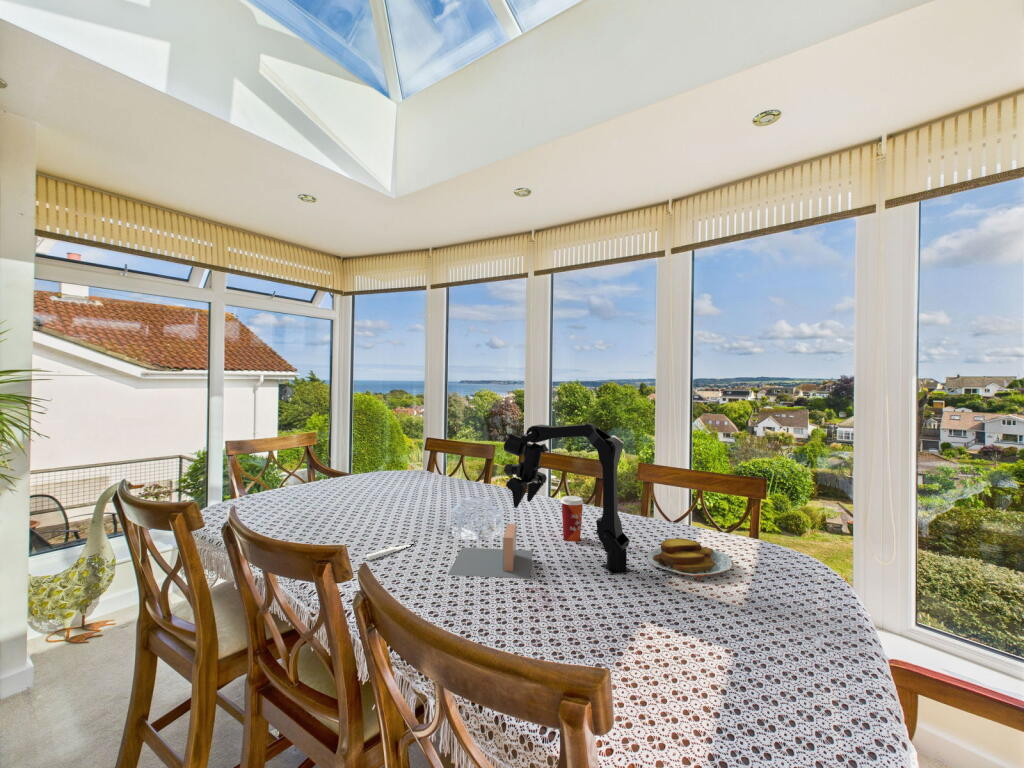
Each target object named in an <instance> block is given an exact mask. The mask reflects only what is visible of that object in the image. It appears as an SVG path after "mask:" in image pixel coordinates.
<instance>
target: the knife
mask: <svg viewBox="0 0 1024 768" xmlns="http://www.w3.org/2000/svg"><path fill="white" fill-rule="evenodd" d="M403 545H404V544H403ZM406 546H407V547H409V546H411V545H404V546H402V545H400V546H397V547H396V546H395V547H394V546H393V547H392V546H390V545H389V546H388V547H387V548H385V549H382V550H379V551H377V552H373V553H367V554H366V559H367V561H370V562H371V561H373V559H374V560H377V559H376V558H378V559H380V558H379V557H381V558H383V557H385V556H384V555H386V556H388V555H387V554H389V555H391V554H390V553H392V554H394V553H393V552H395V553H397V552H398V551H400V550H401V549H402V550H404V548H405V549H407V548H406ZM411 547H412V546H411ZM409 548H410V547H409ZM382 556H383V557H382Z"/></svg>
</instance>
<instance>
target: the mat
mask: <svg viewBox="0 0 1024 768" xmlns="http://www.w3.org/2000/svg"><path fill="white" fill-rule="evenodd" d="M533 551H534V550H533V549H532V550H527V549H516V557H515V563H514V568H513V571H503V548H479V547H461V548H460V550H459V553H458V554H457V556H456V558H455V560H454V562H453V564H452V566H451V567H450V569H449V571H448V574H447V576H458V577H460V576H461V577H477V578H478V577H481V578H499V579H500V578H504V579H525V580H526V579H527V580H530V579H531V573H532V562H533V554H534V553H533Z"/></svg>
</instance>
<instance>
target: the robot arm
mask: <svg viewBox="0 0 1024 768" xmlns="http://www.w3.org/2000/svg"><path fill="white" fill-rule="evenodd" d="M577 437H585V438H587V440H588V442H589V443H590V444H591V446H592V447H594V448H595V449H596V451H597V455H598V460H599V462H600V465H601V470H602V516H601V517H599V518H598V519H596V521H595V523H596V532H595V534H596V535H597V537H598V540H599V541H600V542H601V544H602V546H603V550H604V552H605V553H606V563H603V564H602V565H601V566H602V568H604V569H605V570H606V571H608V572H609V573H610V574H612V575H617V574H623V573H630V572H632V570H631V568H629V567H628V566H627V562H628V561H627V558H628V556H627V555H628V552H627V547H629V544H630V543H631V540H630V538H629V537H628V536H627V535H626V534H625V532H623V525H622V520H621V519H620V515H619V513H618V507H619V506H618V467H619V463H620V460H621V456H622V448H623V446H622V443H621V441H620V440H619V439H617V438H616V437H612V436H611V435H610V434H608V433H607V432H605V431H604V430H603V429H601V428H599V427H598V426H597V425H596V424H595V423H592V422H591V423H584V424H574V425H560V426H554V425H548V424H547V425H546V424H537V425H531V426H529V427H528V428H527V431H526V433H525V434H524V435H522V436H519V435H517V434H516V433H509V436H508V437H507V439H506V440H505V442H504V443H503V450H504V452H505V453H508V454H511V455H514V456H517V457H519V458H520V457H522V456H523V459H522V461H519V463H517V464H515V463H514V464H513V463H506V464H505V466H504V468H503V472H504V473H505V476H510V475H511V476H515V477H511V478H508V479H507V480H506V483H505V487H506V488H507V489H508V490H510V492H511V493H512V494H511V496H512V502H513V508H515V509H517V508H518V507H519V505H520V504H521V502H522V501H523V500H524V499H523V498H524V496H525V495H526V493H527V495H526V501H527V502H528V503H530V502H531V501H532V500H533V499H534V497H535V495H537V493H538V492H539V491H540V489H541V488H542V487H543V486H544V485H545V484H546V483H547V479H548V478H547V475H546V474H545V473H543V472H540V471H539V470H540V469H541V468H542V465H541V464H540V463H541V458H542V454H543V453H547V452H549V451H550V450H549V448H548V446H546V443H543V444H538V443H540V442H541V443H542V442H545V441H549V440H552V439H560V438H561V439H562V438H577Z"/></svg>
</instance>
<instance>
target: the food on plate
mask: <svg viewBox="0 0 1024 768" xmlns="http://www.w3.org/2000/svg"><path fill="white" fill-rule="evenodd" d="M646 557H647V562H648V563H650V564H651V565H652V566H654V568H655V567H657V568H660V569H662V570H666V571H670V572H674V573H677V574H679V575H683V576H684V575H685V576H688V577H692V578H693V577H697V579H696V580H697V581H698V582H701V578H702V577H707V576H715V575H716V574H720V573H724V572H726V573H727V574H729V571H728V570H730V569H731V568H733V566H734V561H733V560H732V558H730V556H729V555H728V554H725V552H722V551H721V552H720V551H718V550H717V549H713V548H710V547H704V546H701V543H699V542H698V541H695V540H691V539H688V538H677V537H676V538H675V537H674V538H668V539H665V540H662V542H661V543H660V546H658V547H656V548H653V549H651V551H649V552H648V553H647V555H646ZM665 567H668V568H665Z"/></svg>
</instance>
